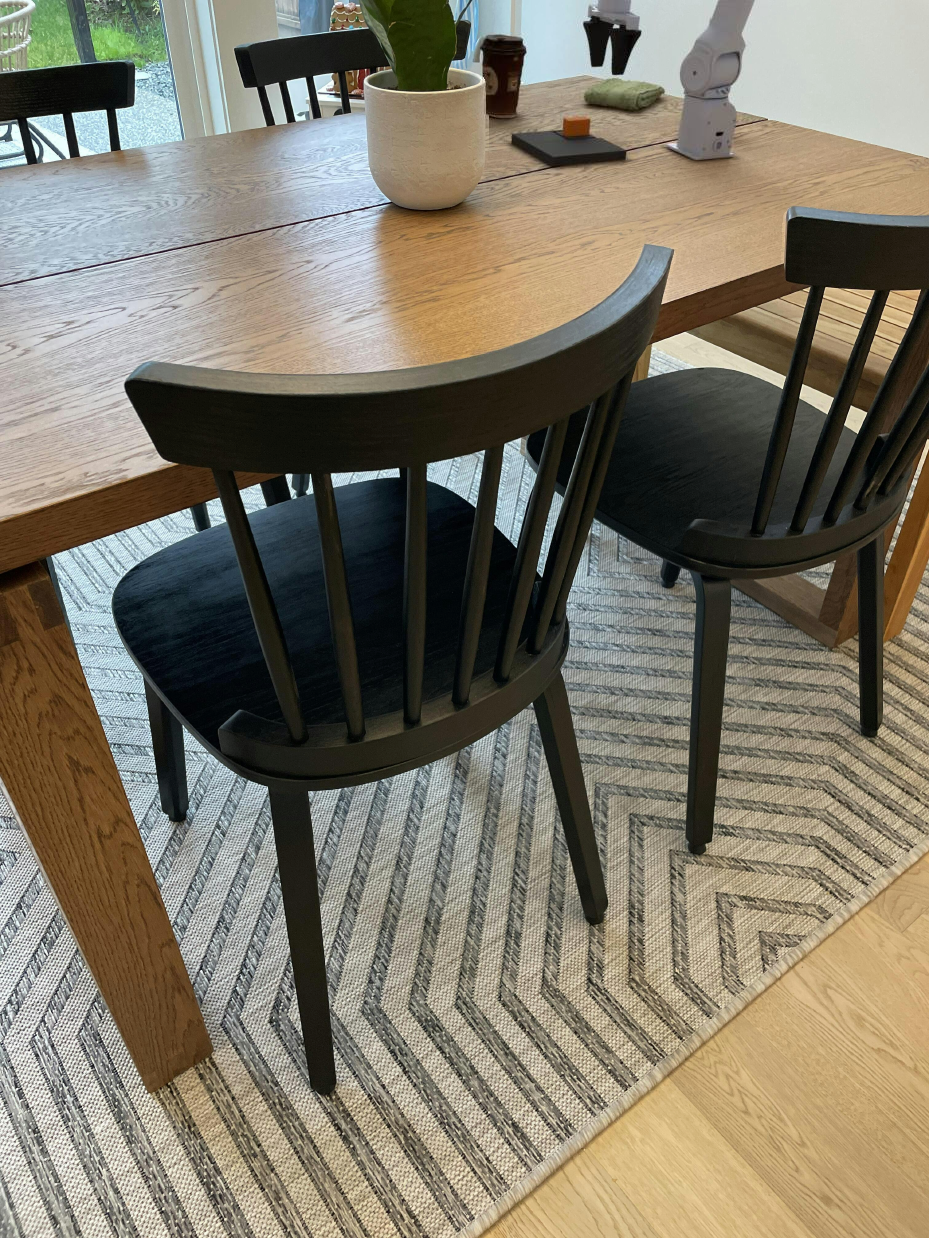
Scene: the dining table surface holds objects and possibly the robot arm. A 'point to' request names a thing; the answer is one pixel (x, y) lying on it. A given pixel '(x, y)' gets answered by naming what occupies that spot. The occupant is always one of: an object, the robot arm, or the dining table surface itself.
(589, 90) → the washcloth
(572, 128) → the connector pad
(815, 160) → the dining table surface
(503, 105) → the coffee cup
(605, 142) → the base pad
